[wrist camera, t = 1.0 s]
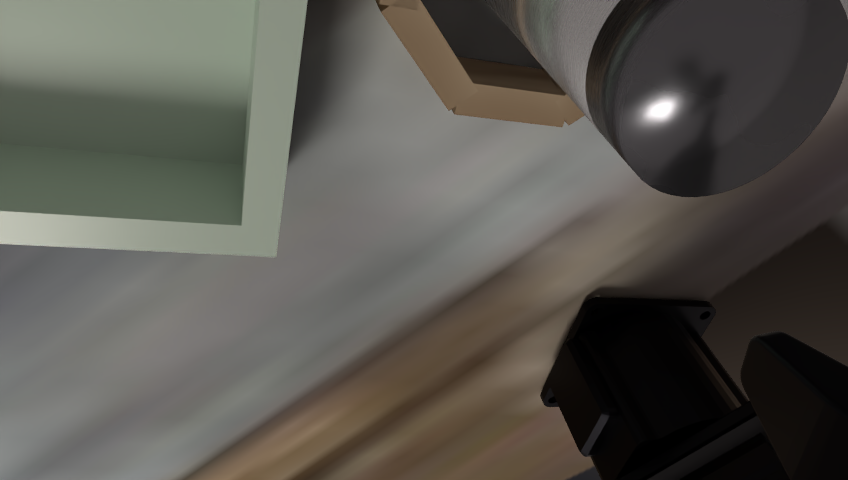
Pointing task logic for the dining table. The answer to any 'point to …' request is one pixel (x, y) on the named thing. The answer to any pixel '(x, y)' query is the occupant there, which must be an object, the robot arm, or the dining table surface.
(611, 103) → the strut
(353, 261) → the dining table surface
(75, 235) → the bin
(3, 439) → the dining table surface
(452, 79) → the socket ring
